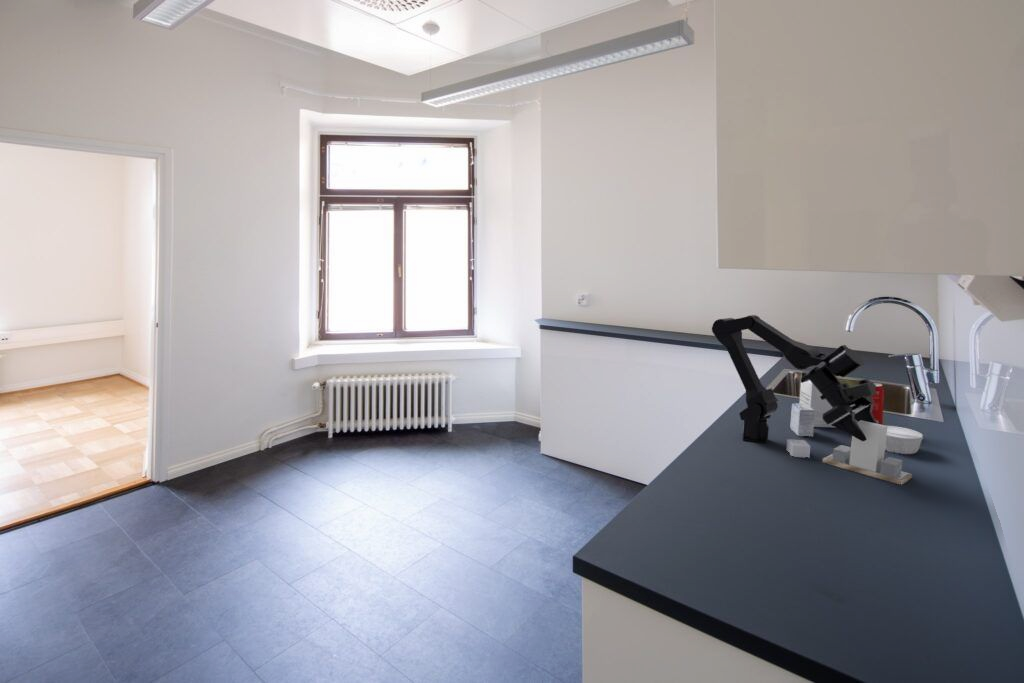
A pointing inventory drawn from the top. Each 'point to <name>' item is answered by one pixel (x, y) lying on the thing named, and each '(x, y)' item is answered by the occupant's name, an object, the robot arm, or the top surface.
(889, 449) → the ramekin
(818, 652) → the top surface
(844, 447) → the block
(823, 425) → the supplement box
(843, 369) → the robot arm
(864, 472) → the board
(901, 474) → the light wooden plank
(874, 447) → the block
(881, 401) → the beverage can
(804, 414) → the medicine box
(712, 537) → the top surface
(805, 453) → the block
